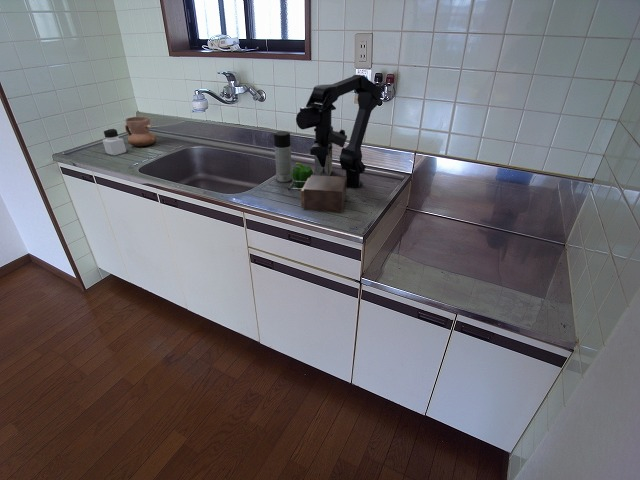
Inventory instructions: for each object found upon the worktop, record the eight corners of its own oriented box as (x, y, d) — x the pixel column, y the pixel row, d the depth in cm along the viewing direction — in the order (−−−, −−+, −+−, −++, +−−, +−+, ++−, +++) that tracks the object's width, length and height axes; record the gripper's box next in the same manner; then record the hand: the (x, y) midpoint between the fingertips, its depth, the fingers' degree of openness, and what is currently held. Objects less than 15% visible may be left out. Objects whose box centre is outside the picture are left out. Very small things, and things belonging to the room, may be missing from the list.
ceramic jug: (165, 142, 208) (159, 116, 201) (145, 150, 197) (138, 122, 190) (140, 139, 214) (134, 114, 207) (120, 146, 203) (112, 119, 196)
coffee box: (318, 170, 169) (318, 135, 161) (332, 171, 168) (332, 135, 160) (314, 177, 161) (313, 140, 153) (328, 178, 160) (329, 141, 152)
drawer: (286, 205, 135) (285, 189, 132) (294, 191, 146) (294, 176, 143) (335, 209, 132) (335, 192, 129) (340, 194, 143) (340, 179, 140)
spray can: (295, 178, 161) (293, 131, 150) (287, 183, 155) (284, 136, 145) (281, 175, 163) (278, 130, 153) (273, 181, 158) (270, 134, 148)
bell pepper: (316, 184, 155) (316, 161, 150) (308, 191, 148) (307, 167, 143) (298, 181, 158) (297, 158, 153) (289, 188, 151) (288, 164, 146)
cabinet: (304, 209, 134) (303, 189, 130) (311, 194, 146) (311, 174, 142) (341, 212, 132) (342, 191, 128) (346, 196, 144) (346, 177, 139)
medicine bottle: (126, 152, 194) (120, 129, 188) (114, 155, 189) (107, 132, 182) (118, 150, 197) (112, 127, 191) (106, 153, 192) (98, 130, 186)
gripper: (342, 132, 121) (341, 177, 129) (348, 119, 136) (347, 160, 144) (309, 130, 122) (310, 175, 130) (319, 118, 138) (319, 158, 146)
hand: (323, 166), depth 138 cm, fingers closed
